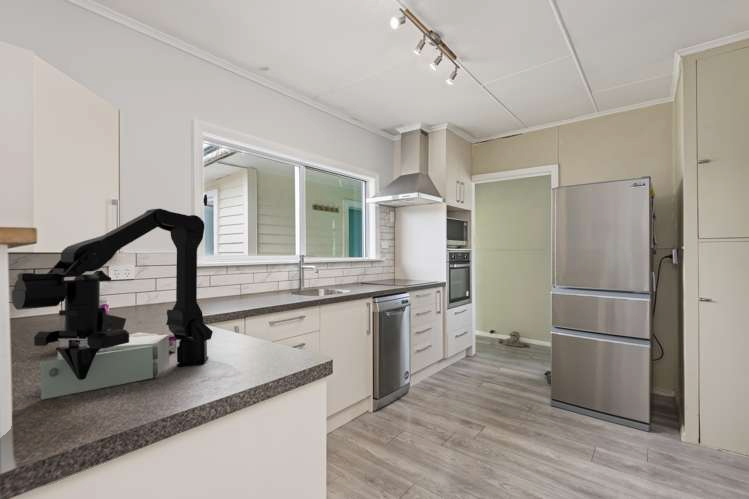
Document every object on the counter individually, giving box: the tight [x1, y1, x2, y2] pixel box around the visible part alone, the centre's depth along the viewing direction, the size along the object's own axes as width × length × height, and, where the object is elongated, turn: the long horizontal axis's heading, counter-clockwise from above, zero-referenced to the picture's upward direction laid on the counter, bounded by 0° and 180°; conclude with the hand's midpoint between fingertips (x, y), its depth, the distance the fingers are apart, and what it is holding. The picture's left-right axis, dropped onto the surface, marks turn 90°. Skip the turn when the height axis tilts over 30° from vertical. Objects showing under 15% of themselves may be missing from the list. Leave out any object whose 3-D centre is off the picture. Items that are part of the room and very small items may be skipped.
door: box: [40, 345, 159, 401], centre depth 80 cm, size 21×2×8 cm, turn 128°
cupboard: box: [57, 334, 170, 378], centre depth 90 cm, size 20×10×8 cm, turn 104°
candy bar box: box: [129, 331, 177, 354], centre depth 108 cm, size 11×5×16 cm
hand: (81, 379), depth 75 cm, fingers closed
